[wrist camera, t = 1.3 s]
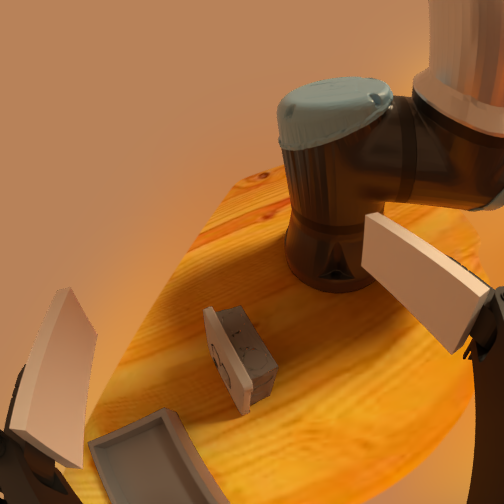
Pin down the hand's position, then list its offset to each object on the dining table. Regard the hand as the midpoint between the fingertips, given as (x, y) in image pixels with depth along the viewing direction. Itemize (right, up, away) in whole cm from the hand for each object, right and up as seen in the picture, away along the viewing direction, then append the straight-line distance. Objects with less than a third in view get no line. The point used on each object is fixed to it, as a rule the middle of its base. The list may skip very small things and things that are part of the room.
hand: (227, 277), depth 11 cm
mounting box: (-10, -25, +10) cm, 28 cm away
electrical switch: (0, -13, +18) cm, 22 cm away
